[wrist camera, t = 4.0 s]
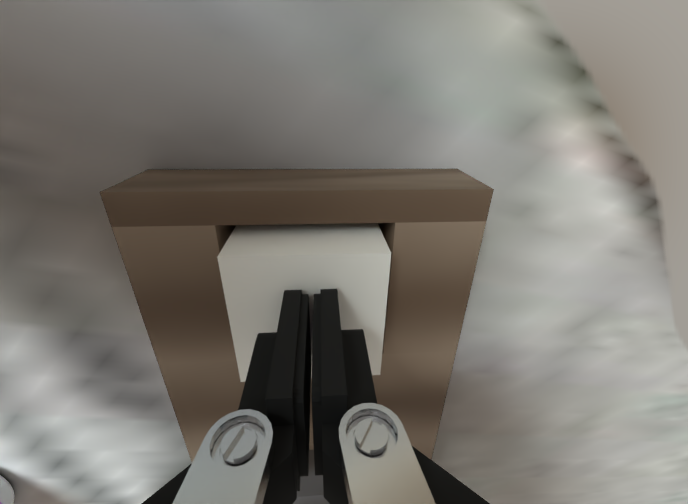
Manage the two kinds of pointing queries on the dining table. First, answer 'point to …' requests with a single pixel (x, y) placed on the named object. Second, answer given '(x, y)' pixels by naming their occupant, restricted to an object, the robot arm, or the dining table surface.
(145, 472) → the dining table surface
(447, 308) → the panel
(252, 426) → the robot arm
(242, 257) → the push button
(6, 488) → the supplement bottle
